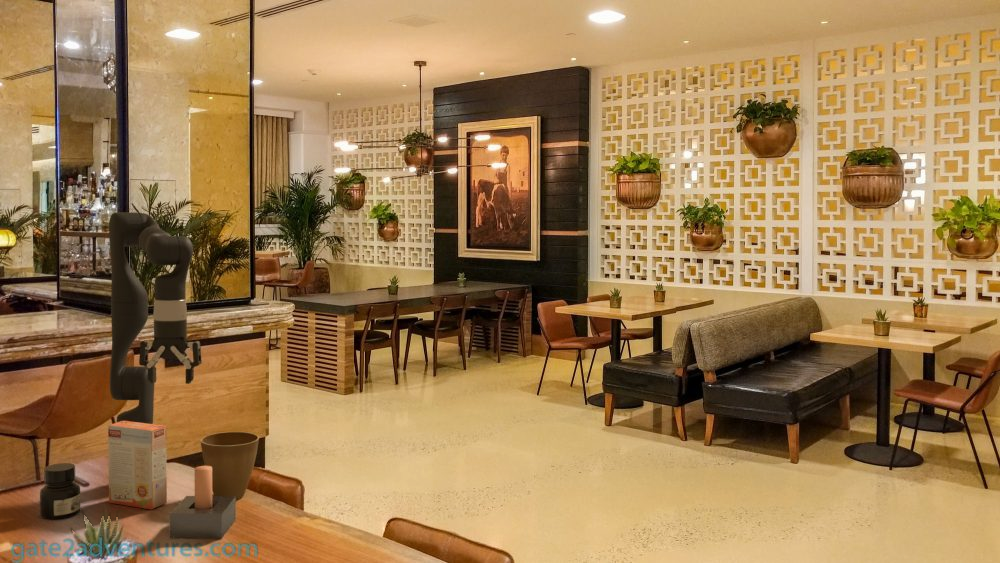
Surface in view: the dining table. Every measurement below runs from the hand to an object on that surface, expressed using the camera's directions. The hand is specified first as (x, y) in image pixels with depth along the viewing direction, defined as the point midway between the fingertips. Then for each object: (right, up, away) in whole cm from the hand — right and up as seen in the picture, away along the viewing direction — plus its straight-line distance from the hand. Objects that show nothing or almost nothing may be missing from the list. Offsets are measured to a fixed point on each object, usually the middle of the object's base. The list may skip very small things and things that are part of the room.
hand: (170, 383), depth 204 cm
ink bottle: (-29, -33, +4) cm, 44 cm away
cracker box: (-13, -33, +12) cm, 38 cm away
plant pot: (+8, -33, +19) cm, 39 cm away
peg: (+9, -34, -4) cm, 35 cm away
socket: (+9, -35, -4) cm, 36 cm away
